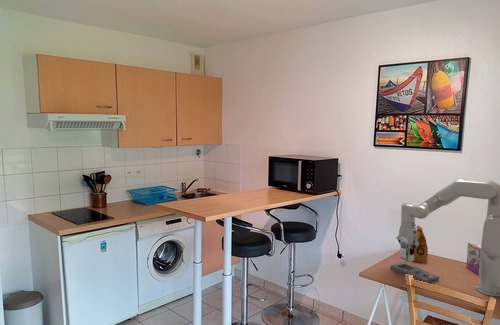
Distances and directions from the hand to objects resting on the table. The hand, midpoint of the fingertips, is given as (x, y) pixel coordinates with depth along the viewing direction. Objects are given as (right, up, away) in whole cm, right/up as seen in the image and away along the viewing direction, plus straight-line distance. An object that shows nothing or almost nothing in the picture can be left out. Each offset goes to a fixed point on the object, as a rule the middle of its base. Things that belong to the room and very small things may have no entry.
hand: (407, 252), depth 206 cm
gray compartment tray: (+2, -12, -4) cm, 13 cm away
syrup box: (0, -5, 0) cm, 5 cm away
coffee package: (+17, -10, +20) cm, 28 cm away
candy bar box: (+43, -12, +1) cm, 45 cm away
